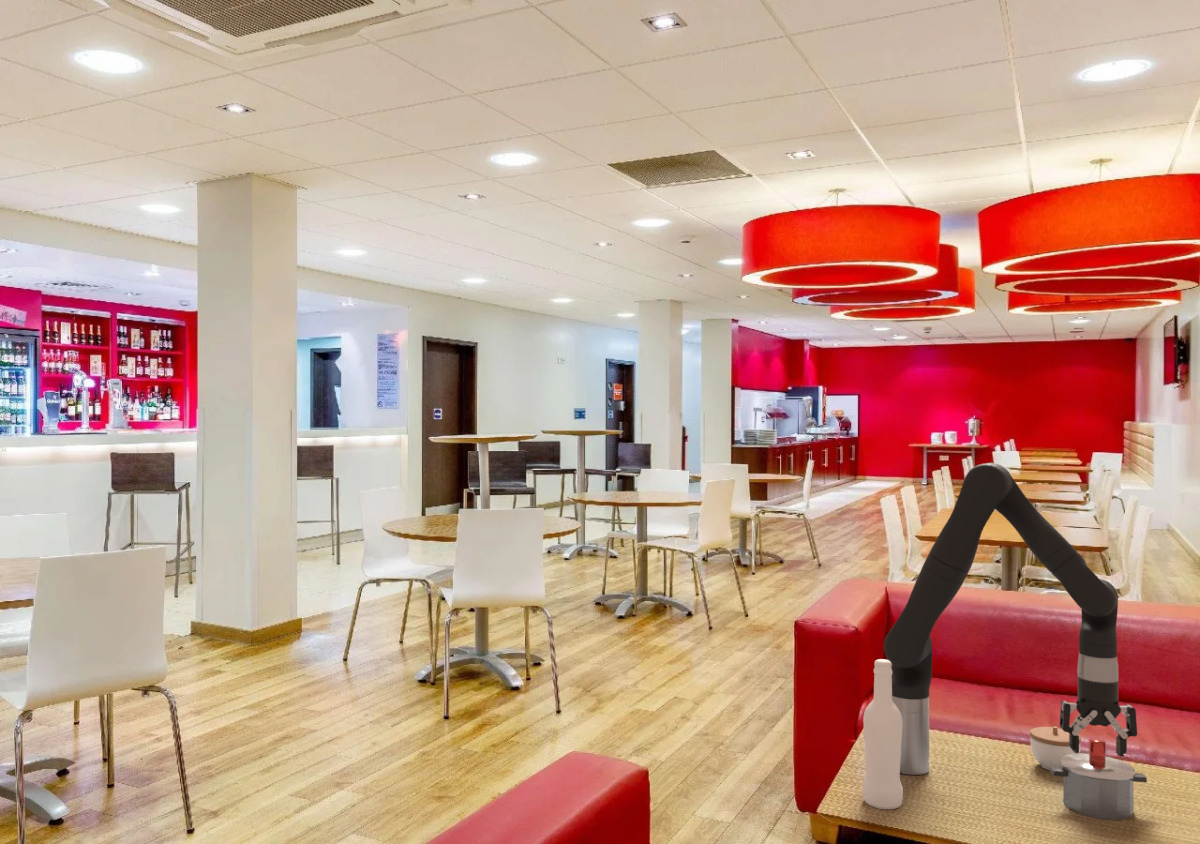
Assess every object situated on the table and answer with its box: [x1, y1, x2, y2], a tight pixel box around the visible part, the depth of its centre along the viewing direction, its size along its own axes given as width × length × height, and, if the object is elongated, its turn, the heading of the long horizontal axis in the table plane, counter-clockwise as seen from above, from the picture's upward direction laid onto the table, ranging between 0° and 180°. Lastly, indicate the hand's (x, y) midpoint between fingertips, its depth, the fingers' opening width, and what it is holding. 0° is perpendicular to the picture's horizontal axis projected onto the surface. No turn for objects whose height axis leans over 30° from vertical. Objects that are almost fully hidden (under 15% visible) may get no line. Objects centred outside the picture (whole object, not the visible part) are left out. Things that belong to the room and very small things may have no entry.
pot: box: [1049, 767, 1148, 821], centre depth 192 cm, size 18×12×8 cm
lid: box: [1061, 738, 1136, 781], centre depth 192 cm, size 14×14×7 cm
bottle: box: [862, 658, 904, 810], centre depth 193 cm, size 8×8×30 cm
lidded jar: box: [1029, 726, 1082, 771], centre depth 215 cm, size 11×11×9 cm
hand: (1097, 753), depth 192 cm, fingers open, 8 cm apart
